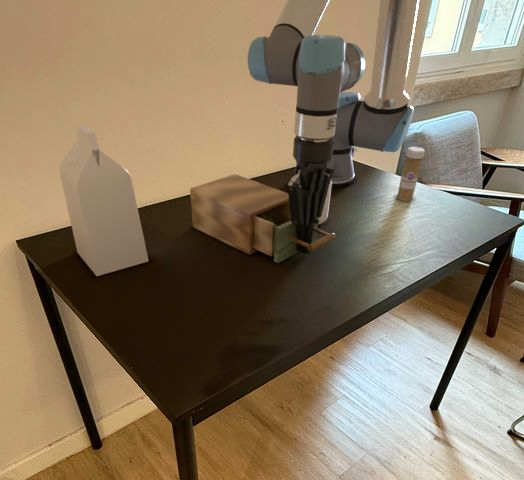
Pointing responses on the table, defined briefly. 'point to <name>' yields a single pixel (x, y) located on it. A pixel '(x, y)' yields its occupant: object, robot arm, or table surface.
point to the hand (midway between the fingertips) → (303, 251)
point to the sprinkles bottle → (410, 173)
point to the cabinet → (232, 208)
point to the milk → (101, 207)
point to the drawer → (282, 234)
